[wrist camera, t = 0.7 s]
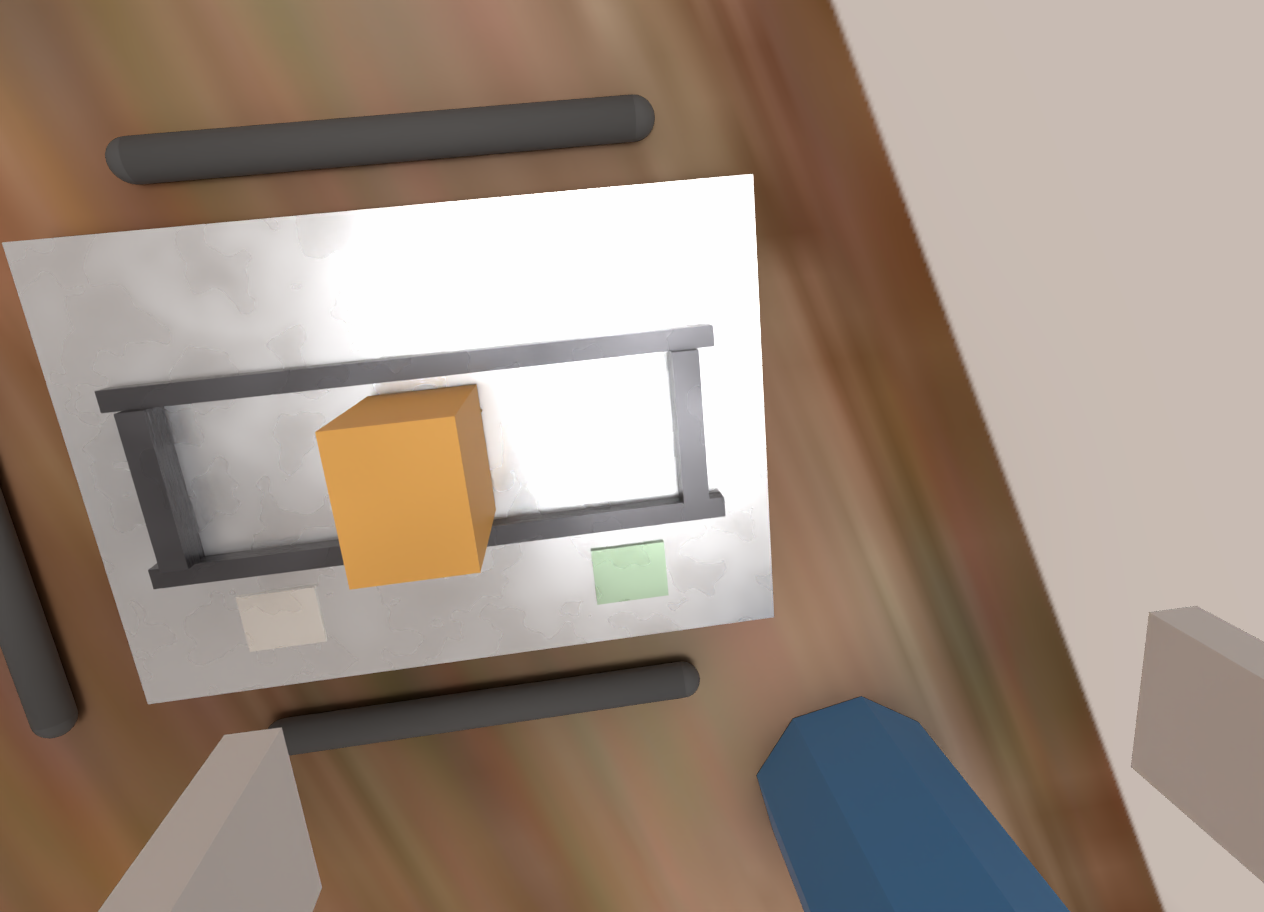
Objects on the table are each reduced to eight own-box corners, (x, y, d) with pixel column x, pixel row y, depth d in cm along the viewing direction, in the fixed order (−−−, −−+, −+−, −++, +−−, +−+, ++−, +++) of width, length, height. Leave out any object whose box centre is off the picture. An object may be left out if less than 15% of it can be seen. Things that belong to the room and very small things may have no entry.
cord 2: (276, 743, 33) (262, 766, 31) (268, 713, 32) (254, 735, 31) (697, 682, 34) (703, 701, 33) (694, 652, 34) (701, 671, 32)
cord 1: (129, 188, 26) (102, 183, 25) (116, 141, 26) (88, 134, 24) (653, 142, 28) (659, 135, 26) (649, 98, 27) (655, 87, 26)
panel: (179, 670, 31) (129, 724, 28) (51, 244, 26) (-29, 241, 23) (758, 591, 33) (783, 631, 30) (736, 181, 28) (762, 169, 25)
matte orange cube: (392, 522, 28) (349, 589, 22) (367, 396, 26) (314, 432, 21) (496, 509, 28) (480, 572, 22) (476, 384, 27) (454, 416, 21)
